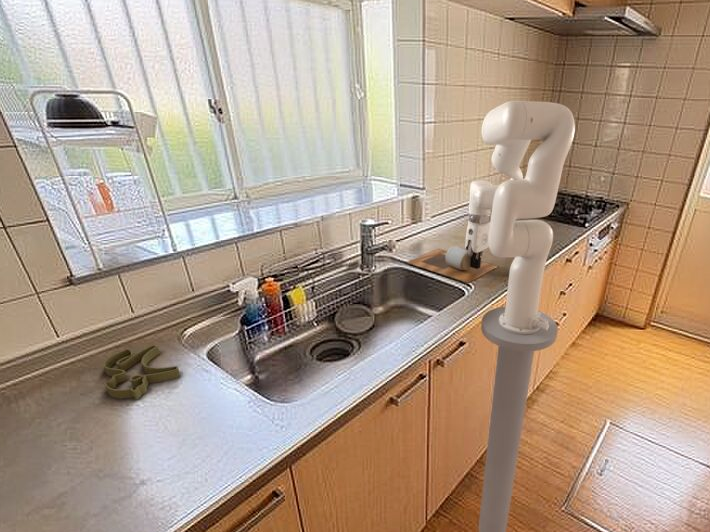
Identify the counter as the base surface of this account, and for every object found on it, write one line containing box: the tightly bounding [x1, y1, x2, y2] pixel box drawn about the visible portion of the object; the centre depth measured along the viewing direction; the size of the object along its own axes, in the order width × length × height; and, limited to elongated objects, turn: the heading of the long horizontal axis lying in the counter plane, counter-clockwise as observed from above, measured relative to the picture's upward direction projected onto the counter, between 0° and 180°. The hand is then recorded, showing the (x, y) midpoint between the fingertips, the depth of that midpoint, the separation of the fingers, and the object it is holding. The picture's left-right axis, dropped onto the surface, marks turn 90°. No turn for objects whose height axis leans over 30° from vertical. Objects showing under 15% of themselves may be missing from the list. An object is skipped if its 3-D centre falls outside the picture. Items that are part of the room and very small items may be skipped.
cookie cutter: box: [102, 344, 181, 400], centre depth 90 cm, size 18×12×2 cm, turn 50°
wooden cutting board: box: [406, 248, 498, 284], centre depth 158 cm, size 28×20×1 cm
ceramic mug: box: [446, 245, 471, 271], centre depth 154 cm, size 11×8×8 cm
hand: (475, 267), depth 152 cm, fingers closed
